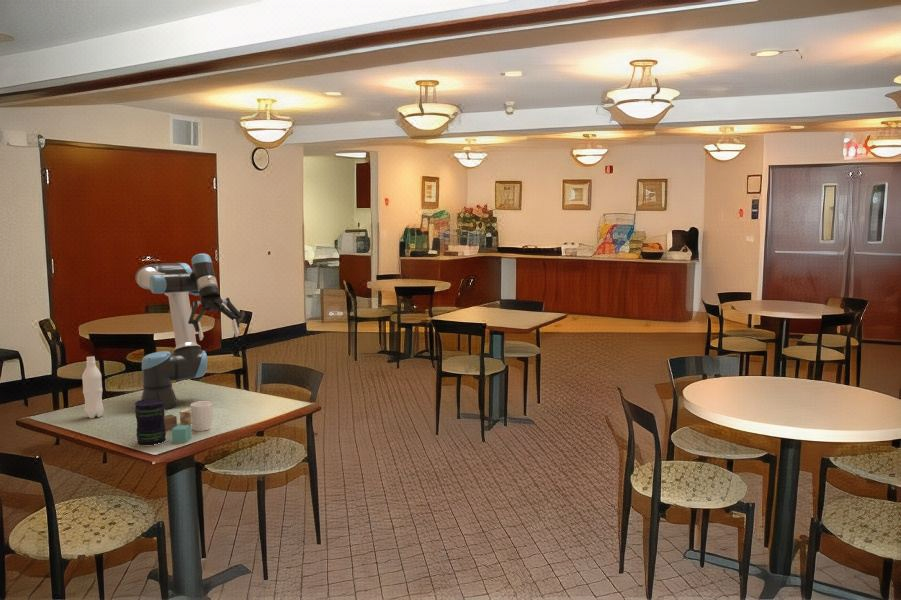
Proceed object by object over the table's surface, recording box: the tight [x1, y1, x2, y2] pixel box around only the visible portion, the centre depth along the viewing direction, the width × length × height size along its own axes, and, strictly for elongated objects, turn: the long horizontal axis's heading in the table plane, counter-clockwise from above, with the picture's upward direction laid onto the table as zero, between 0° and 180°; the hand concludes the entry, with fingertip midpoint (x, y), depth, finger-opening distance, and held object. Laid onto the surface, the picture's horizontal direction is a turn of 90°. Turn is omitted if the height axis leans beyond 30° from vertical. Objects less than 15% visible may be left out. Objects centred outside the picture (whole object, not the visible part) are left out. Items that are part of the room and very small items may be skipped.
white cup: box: [190, 400, 213, 432], centre depth 272 cm, size 8×8×10 cm
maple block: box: [179, 408, 193, 426], centre depth 281 cm, size 5×5×5 cm
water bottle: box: [81, 355, 105, 419], centre depth 288 cm, size 7×7×25 cm
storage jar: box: [134, 398, 167, 446], centre depth 256 cm, size 10×10×15 cm
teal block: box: [171, 424, 192, 443], centre depth 258 cm, size 5×5×5 cm
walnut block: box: [164, 414, 178, 432], centre depth 272 cm, size 5×5×5 cm
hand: (219, 337), depth 270 cm, fingers open, 13 cm apart
